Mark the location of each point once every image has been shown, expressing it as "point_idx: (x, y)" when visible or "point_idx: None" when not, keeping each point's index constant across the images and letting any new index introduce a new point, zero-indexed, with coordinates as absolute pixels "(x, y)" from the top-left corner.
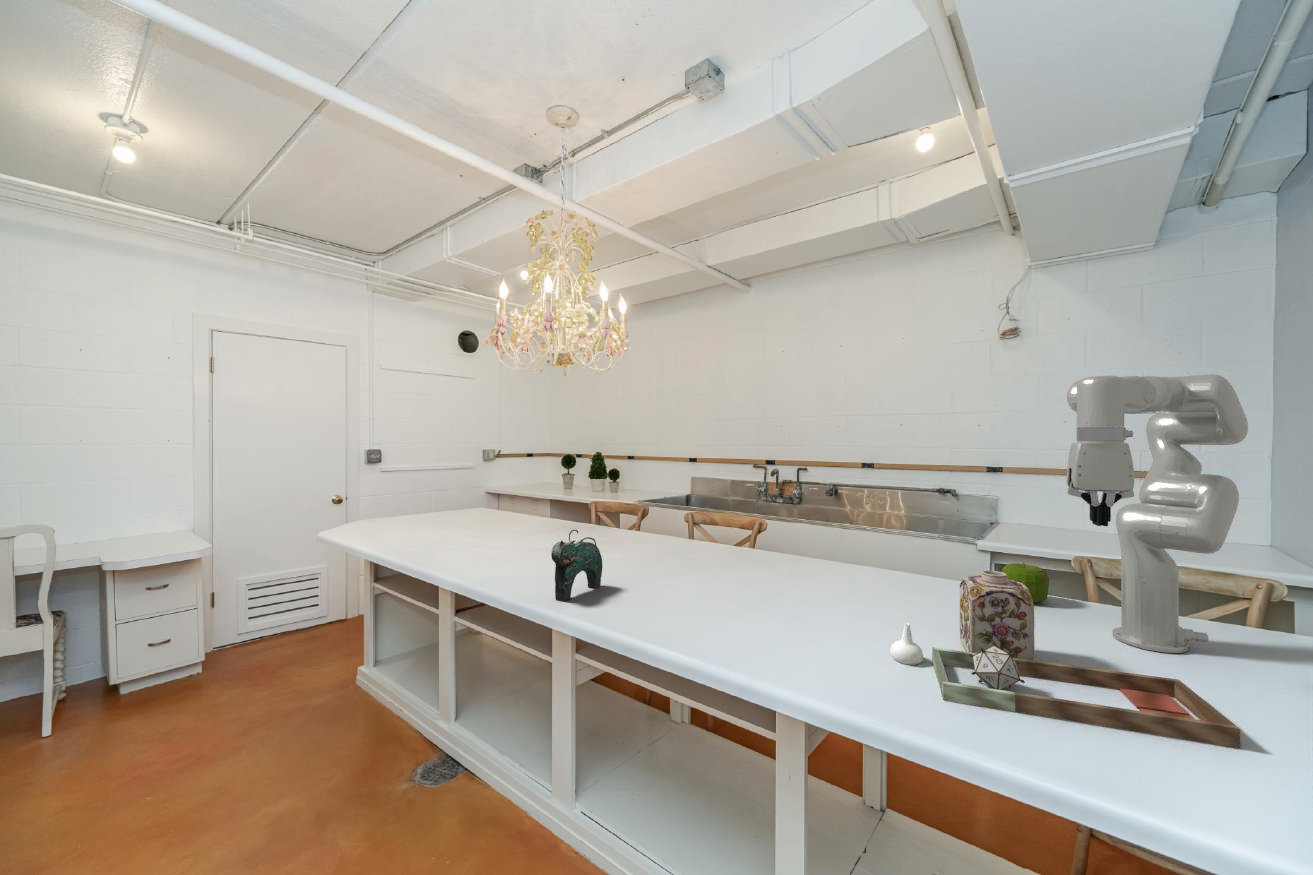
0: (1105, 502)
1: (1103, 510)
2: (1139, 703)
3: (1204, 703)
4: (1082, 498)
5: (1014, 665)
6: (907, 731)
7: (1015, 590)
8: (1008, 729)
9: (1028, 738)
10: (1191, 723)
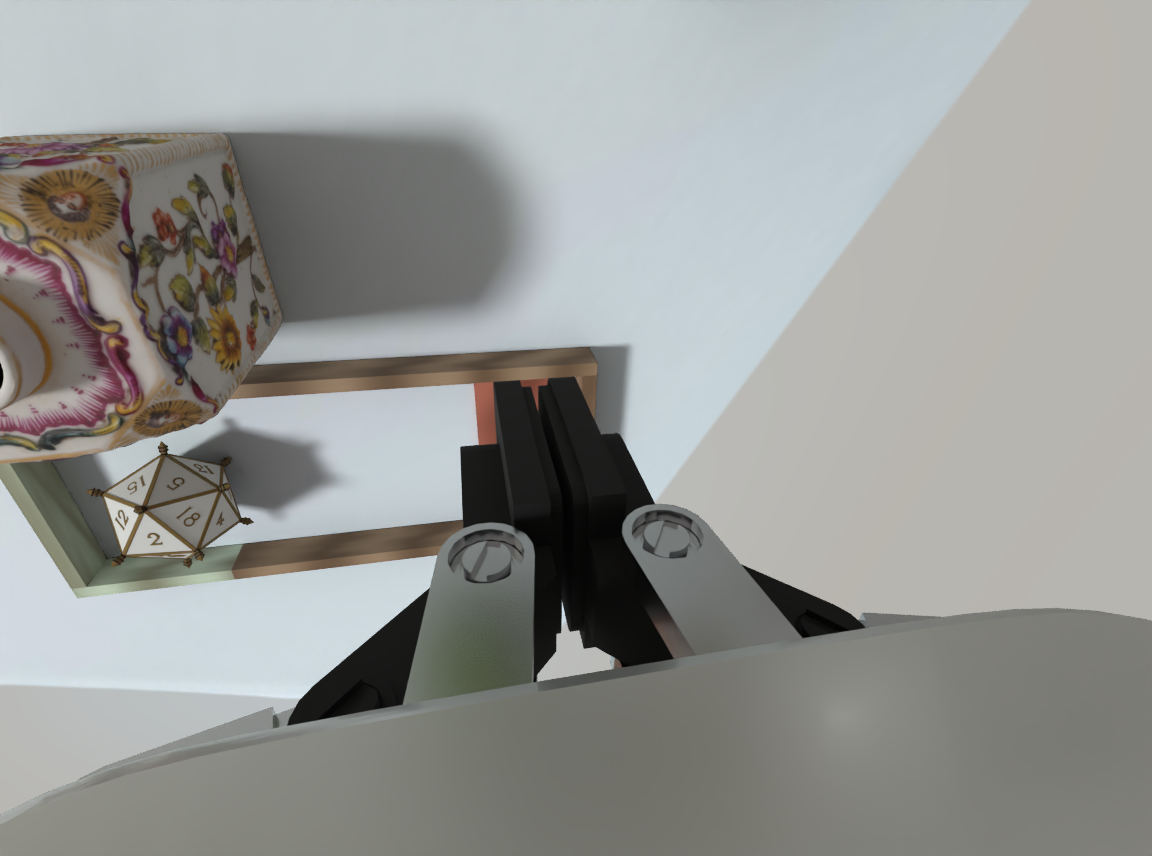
0: (618, 661)
1: (564, 607)
2: (488, 432)
3: None
4: (355, 666)
5: (216, 538)
6: (76, 682)
7: (113, 436)
8: (238, 609)
9: (271, 619)
10: None
